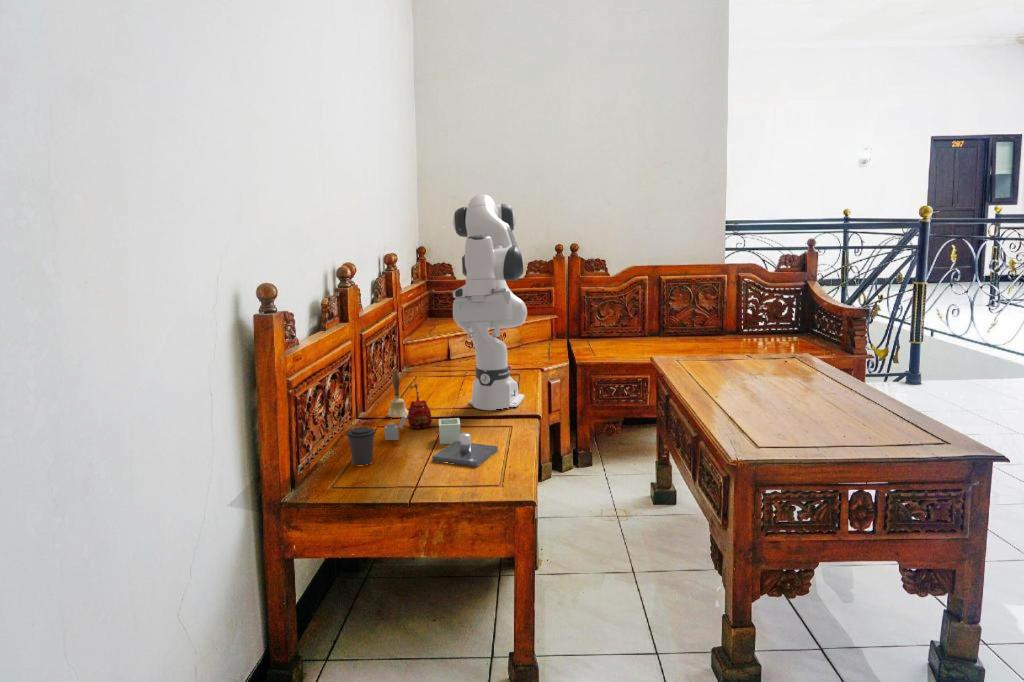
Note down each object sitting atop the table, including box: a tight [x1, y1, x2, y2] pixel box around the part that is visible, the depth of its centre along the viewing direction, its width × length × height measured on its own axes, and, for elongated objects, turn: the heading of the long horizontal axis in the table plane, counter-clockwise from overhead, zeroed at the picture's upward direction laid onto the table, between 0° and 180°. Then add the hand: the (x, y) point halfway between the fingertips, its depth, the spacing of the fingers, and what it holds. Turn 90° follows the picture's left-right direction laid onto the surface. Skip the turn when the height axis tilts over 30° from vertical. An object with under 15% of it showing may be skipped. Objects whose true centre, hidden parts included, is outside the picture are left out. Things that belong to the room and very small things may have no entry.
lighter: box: [384, 414, 408, 441], centre depth 224 cm, size 7×2×8 cm, turn 92°
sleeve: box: [438, 417, 462, 445], centre depth 222 cm, size 6×6×6 cm
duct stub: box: [431, 432, 499, 468], centre depth 208 cm, size 14×14×6 cm
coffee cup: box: [346, 426, 376, 466], centre depth 204 cm, size 8×8×10 cm
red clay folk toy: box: [407, 380, 432, 430], centre depth 235 cm, size 8×7×15 cm
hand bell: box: [386, 369, 409, 417], centre depth 249 cm, size 8×8×16 cm
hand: (483, 337), depth 211 cm, fingers open, 8 cm apart
